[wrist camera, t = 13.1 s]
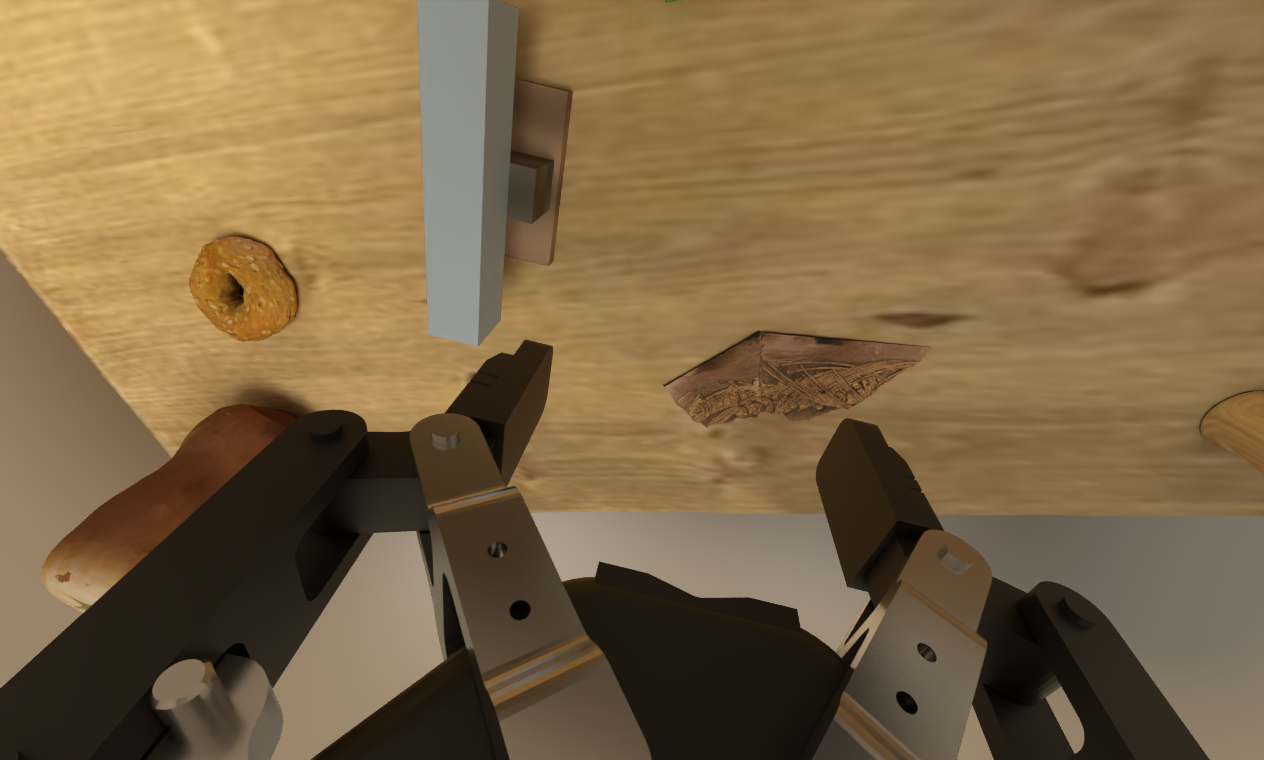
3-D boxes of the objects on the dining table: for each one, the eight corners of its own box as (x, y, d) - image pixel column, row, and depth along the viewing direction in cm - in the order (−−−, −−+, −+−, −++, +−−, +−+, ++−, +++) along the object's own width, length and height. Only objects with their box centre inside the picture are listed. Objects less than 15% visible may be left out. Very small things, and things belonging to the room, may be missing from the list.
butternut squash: (251, 450, 64) (30, 628, 43) (233, 370, 57) (-43, 536, 36) (351, 479, 65) (182, 669, 43) (346, 403, 57) (140, 586, 36)
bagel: (312, 266, 48) (277, 282, 44) (296, 344, 54) (263, 365, 50) (215, 212, 47) (169, 223, 43) (208, 299, 52) (167, 316, 48)
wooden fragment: (672, 427, 54) (671, 433, 53) (655, 342, 48) (655, 346, 47) (920, 406, 48) (925, 412, 48) (933, 307, 43) (938, 311, 42)
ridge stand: (461, 64, 37) (420, 60, 32) (572, 91, 37) (550, 92, 32) (460, 238, 45) (427, 259, 39) (553, 261, 45) (532, 285, 39)
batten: (457, -7, 30) (416, -23, 25) (519, 8, 30) (488, -5, 25) (456, 309, 41) (428, 334, 37) (500, 320, 41) (477, 346, 37)
